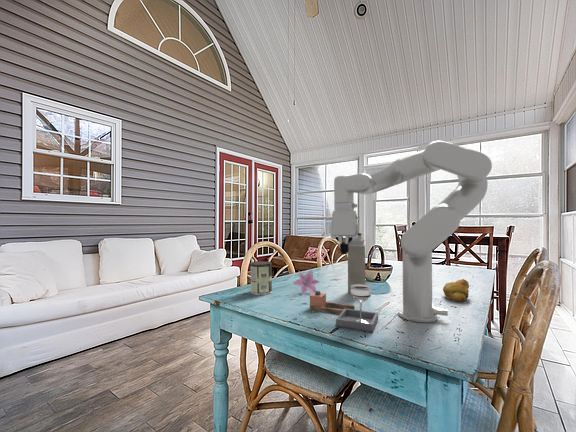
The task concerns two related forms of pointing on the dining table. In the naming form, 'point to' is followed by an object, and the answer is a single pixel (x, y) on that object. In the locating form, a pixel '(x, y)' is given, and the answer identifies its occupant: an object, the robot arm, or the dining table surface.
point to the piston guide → (332, 310)
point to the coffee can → (261, 277)
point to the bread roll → (457, 290)
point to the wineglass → (360, 296)
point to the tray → (348, 321)
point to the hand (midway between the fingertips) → (344, 253)
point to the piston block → (318, 299)
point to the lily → (306, 282)
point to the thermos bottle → (356, 262)
